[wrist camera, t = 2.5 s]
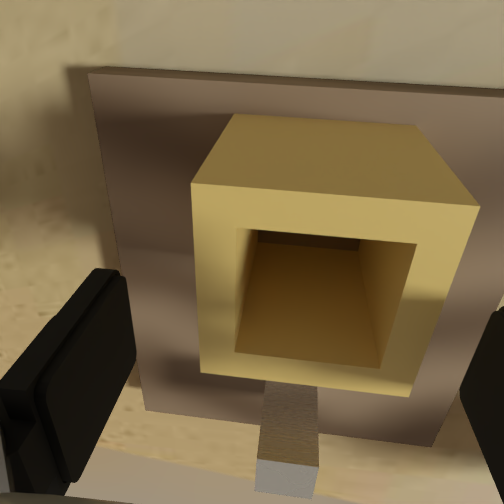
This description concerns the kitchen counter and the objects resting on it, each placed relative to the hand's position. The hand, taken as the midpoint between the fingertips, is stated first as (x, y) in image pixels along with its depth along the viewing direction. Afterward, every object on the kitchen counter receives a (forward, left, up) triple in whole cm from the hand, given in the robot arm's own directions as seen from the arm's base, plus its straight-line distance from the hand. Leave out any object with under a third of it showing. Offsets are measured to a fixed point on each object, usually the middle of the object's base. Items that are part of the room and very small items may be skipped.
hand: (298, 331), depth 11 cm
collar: (-1, 0, -6) cm, 6 cm away
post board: (+4, 0, -8) cm, 9 cm away
